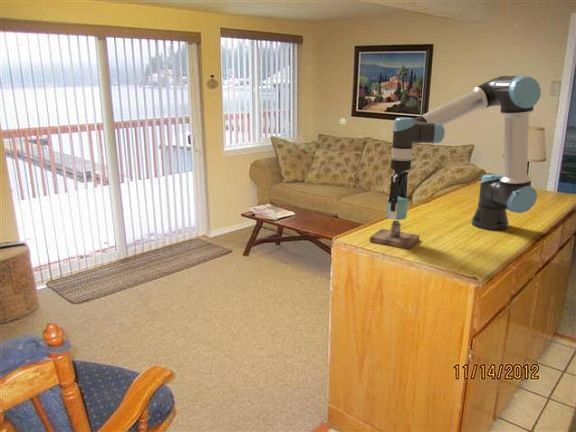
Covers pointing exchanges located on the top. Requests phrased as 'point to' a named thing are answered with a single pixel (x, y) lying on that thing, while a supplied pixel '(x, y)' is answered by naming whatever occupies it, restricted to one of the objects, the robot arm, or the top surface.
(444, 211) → the top surface
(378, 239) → the stud base
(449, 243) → the top surface
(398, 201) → the cap
